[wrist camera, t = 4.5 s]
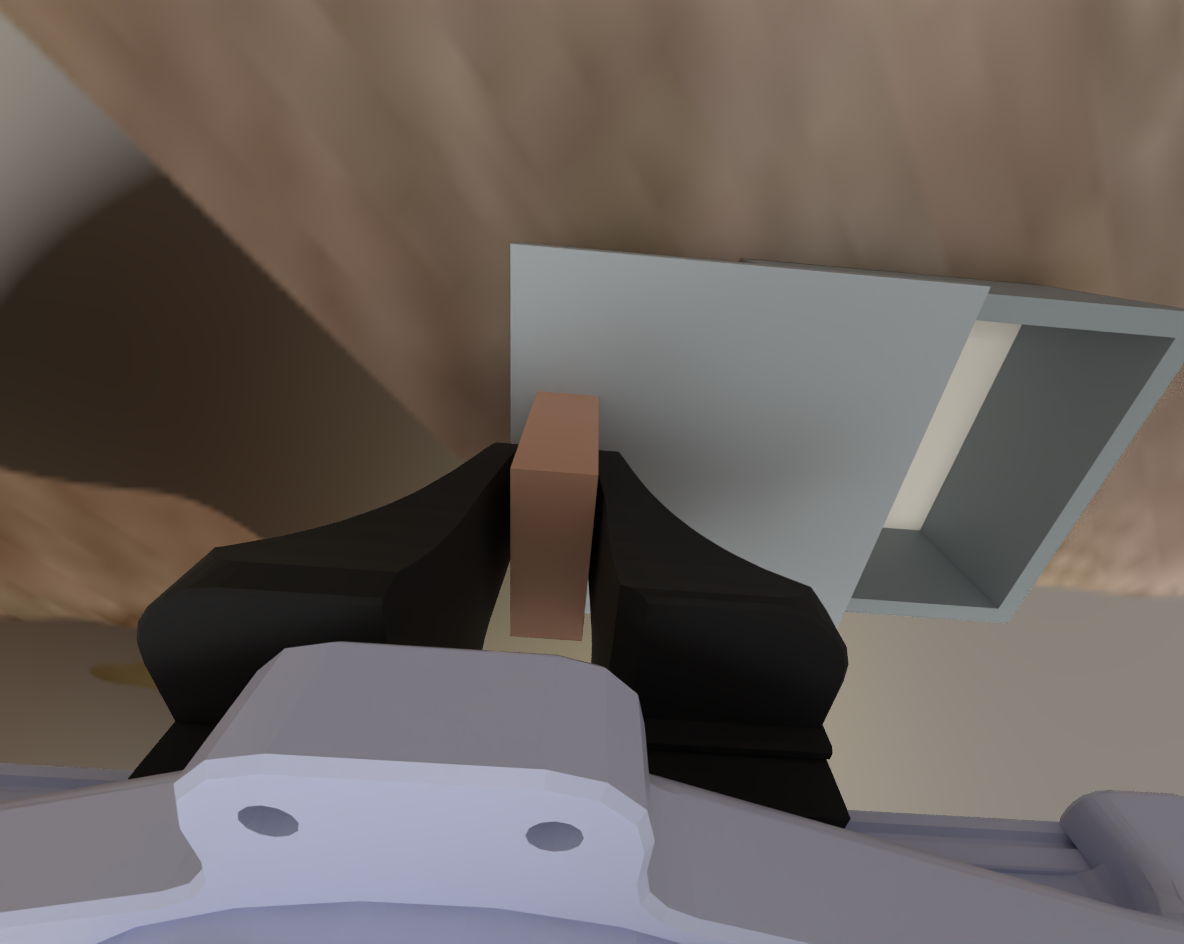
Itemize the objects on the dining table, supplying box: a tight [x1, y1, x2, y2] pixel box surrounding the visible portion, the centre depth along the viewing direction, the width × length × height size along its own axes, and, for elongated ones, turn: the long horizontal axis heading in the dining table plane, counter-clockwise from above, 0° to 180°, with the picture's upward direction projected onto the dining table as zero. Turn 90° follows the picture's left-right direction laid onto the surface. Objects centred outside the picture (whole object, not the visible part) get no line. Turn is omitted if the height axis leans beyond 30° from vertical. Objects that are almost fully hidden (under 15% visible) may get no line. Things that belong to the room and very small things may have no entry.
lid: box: [510, 242, 991, 641], centre depth 11 cm, size 10×10×5 cm
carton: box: [740, 258, 1184, 623], centre depth 16 cm, size 10×10×5 cm
